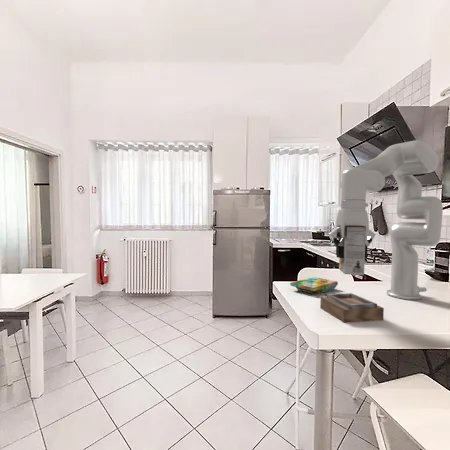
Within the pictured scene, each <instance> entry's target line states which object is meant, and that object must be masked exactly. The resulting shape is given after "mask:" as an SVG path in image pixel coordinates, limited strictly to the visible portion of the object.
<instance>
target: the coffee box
mask: <svg viewBox="0 0 450 450" xmlns="http://www.w3.org/2000/svg"><path fill="white" fill-rule="evenodd" d="M365 240H366V226H356V225H346V226H345V238H344V243H343V245H342V246H344V258H338V261H339V262H338V270H339V271H341V273H343V274H344V275H350V276H351V275H352V276H354V275H355V276H365V263H366V261H365V259H366V258H365Z"/></svg>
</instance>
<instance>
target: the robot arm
mask: <svg viewBox="0 0 450 450" xmlns="http://www.w3.org/2000/svg"><path fill="white" fill-rule="evenodd" d="M439 159H440V158H439V157H438V154H437V153H436V152H435V151H434V149H433V148H432V147H431V146H430V145H429V144H427V143H426V142H424V141H422V140H419V139H418V140H417V139H416V140H410V141H409V140H408V141H405V142H400V143H395V144H392V145H389V146H388V147H386V149H384V150H383V151H381V153H380V154H378V155H377V156H375V157H374V158H372V159H369V160H367V161H365V162H363V163H360V164H358V165H356V166H354V167H352V168H349V169H346V170H343V172H342V174H341V181H340V189H341V197H340V198H341V199H340V201H341V202H340V209H338V212H337V214H336V215H337V216H336V221H335V227H334V228H335V229H332V231H330V232H329V233H328V236H329V238H330V239H331V242H333V243H334V246H336V247H335V255H336V258H338V259H339V258H344V246H342V245H343V243H344V238H345V226H346V225H356V226H366V240H365V259H367V258H368V249H369V248H368V247H370V245H371V243H372V242H373V240H374V238H375V237H376V233H375V232H373V231H372V230H371V229H370V228H369V227H370V225H369V224H370V223H369V215H368V211H367V209H366V208H368V206H369V203H368V202H367V201H366V200H367V194H368V193H370V194H371V193H377V192H380V191H382V189H383V188H384V187H385V185H386V178H387V177H389V176H392V177H393V178H394V179H395V182H396V183H397V186H398V187H397V188H398V190H397V201H396V215H397V217H398V218H400V219H402V220H416V221H417V220H422V221H423V220H424V221H425V222H415V221H414V222H413V221H402V222H397V223H394V224H392V225H391V227H390V229H389V236H390V243H391V275H390V276H391V277H390V278H391V279H390V289H387V290H386V294H387V295H388V296H390V297H393V298H397V299H403V300H409V301H411V300H415V301H416V300H417V301H418V300H421V299H422V295H421V294H420V293H423V292H424V293H426V292H427V291H428V290H427V287H425V286H422V287H420V286H419V285H418V279H419V278H418V277H419V275H418V274H419V273H418V272H419V254H418V252H417V251H416V249H415V248H414V247H413V246H420V247H436V246H437V245H438V244H439V243H440V241H441V233H442V222H443V203H442V201H441V199H440V198H439V197H436V196H431V195H428V196H422V193H423V185H422V183H421V182H420V181H419V180H418V178H416V177H415V176H414V175H422V174H423V175H424V174H429V173H434V172H435V171H436V170H437V169H438V167H439V162H440V161H439Z"/></svg>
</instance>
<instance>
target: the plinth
mask: <svg viewBox="0 0 450 450" xmlns="http://www.w3.org/2000/svg"><path fill="white" fill-rule="evenodd" d="M319 306H320V309H321V310H323V311H324V312H326V313H328V314H329V315H331V316H332V317H333V318H335V319H338V320H339V321H340V322H343V323H360V322H361V323H362V322H363V323H364V322H375V321H376V322H377V321H378V322H379V321H380V322H381V321H384V310H385V308H384V307H383V306H380V305H378V303H376V302H373V301H372V300H368V299H366V298H364V297H362V296H359V295H357V294H355V293H351V292H350V293H349V292H348V293H345V292H344V293H326V296H321V297H320V305H319Z"/></svg>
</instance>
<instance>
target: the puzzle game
mask: <svg viewBox="0 0 450 450" xmlns="http://www.w3.org/2000/svg"><path fill="white" fill-rule="evenodd" d="M289 284H290V286H291V287H295V288H296V289H297V291H301V292H306V293H309V294H312V295H313V294H314V295H317V294H322V293H326V292H328V291H329V292H330V291H331V290H332V291H333V290H334V289H336V288H337V286H338V284H339V281H337V280H336V281H335V280H331V279H327V278H321V277H315V276H314V277H308V278H305V279H300V280H295V281H292V282H290V283H289Z"/></svg>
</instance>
